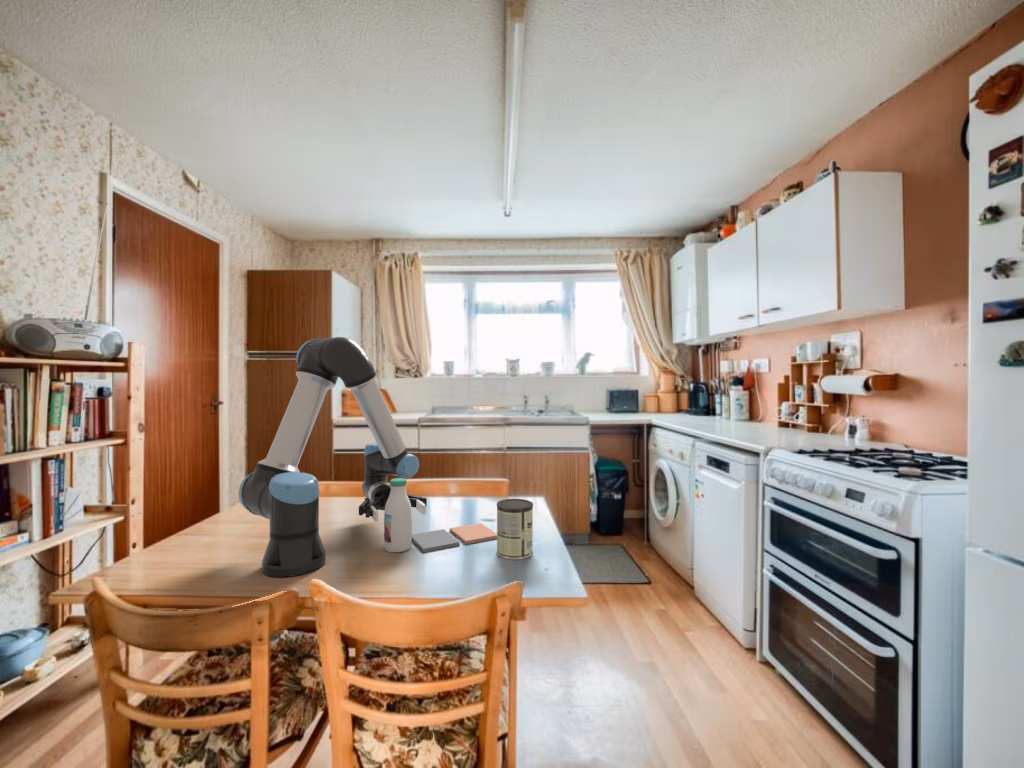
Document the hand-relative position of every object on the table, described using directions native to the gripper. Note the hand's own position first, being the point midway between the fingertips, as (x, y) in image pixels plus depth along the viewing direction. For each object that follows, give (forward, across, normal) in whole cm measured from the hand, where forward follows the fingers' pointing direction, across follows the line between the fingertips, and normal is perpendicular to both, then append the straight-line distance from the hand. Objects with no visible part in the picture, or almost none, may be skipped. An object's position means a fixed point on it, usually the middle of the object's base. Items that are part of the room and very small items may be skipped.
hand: (401, 513), depth 130 cm
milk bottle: (-3, 0, -11) cm, 12 cm away
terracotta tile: (-3, -24, -11) cm, 26 cm away
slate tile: (-3, -11, -11) cm, 16 cm away
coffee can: (+16, -28, -11) cm, 34 cm away
